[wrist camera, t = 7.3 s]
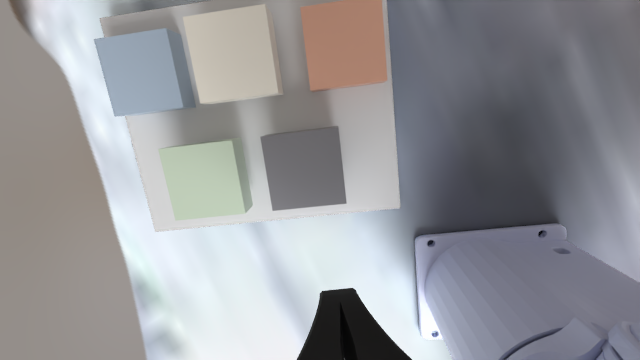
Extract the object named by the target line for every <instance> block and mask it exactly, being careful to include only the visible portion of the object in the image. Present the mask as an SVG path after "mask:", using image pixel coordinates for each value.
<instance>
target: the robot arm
mask: <svg viewBox="0 0 640 360" xmlns="http://www.w3.org/2000/svg"><path fill="white" fill-rule="evenodd" d="M542 230H543V232H542V234H541V235H538V233H539V232H540V231H542ZM566 234H567V231H566V228H565V227H564V226H562V225H560V224H557V223H554V224H543V225H531V226H520V227H509V228H498V229H486V230H475V231H464V232H453V233H441V234H430V235H421V236H418V237H417V238H416V239H415V259H416V277H417V294H418V312H419V329H420V334H421V337H422V338H423V339H425V340H435V339H444V342H445V344H446V346H447V348H448V350H449V353H450V355H451V357H452V359H453V360H640V283H639V282H637V281H635V280H634V279H632V278H630V277H628V276H627V275H625V274H623V273H621V272H620V271H618V270H616V269H615V268H613V267H611V266H609V265H608V264H606V263H604V262H602V261H601V260H599V259H597V258H595V257H594V256H592V255H590V254H589V253H587V252H585V251H583V250H582V249H580V248H578V247H576V246H575V245H573V244H571V243H569V242H568V241H566ZM429 240H433V243H432V244H431V245H428V244H427V242H428V241H429ZM433 331H437V332H436V333H432V332H433ZM297 360H412V359H411V358H410V357H409V356H408V355H407V354H406V353H404V352H403V351H402V350H401V349H400V348H399V347H398V346H397V345H396V344H395V342H394V341H393V340H392V339H391V338H390V337H389V336H388V335H387V334H386V333H385V331H384V330H383V329H382V328H381V327H380V325H379V324H378V323H377V322H376V320H375V319H374V318H373V317H372V315H371V314H370V313H369V311H368V310H367V308H366V307H365V305H364V304H363V302H362V301H361V299H360V298H359V296H358V294H357V292H356V290H355V289H353V288H348V289H339V290H329V291H322V292H321V293H320V299H319V305H318V309H317V312H316V315H315V318H314V321H313V324H312V327H311V330H310V332H309V334H308V337H307V339H306V341H305V344H304V346H303V348H302V350H301V352H300V354H299V356H298V358H297Z"/></svg>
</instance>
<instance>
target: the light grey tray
mask: <svg viewBox="0 0 640 360" xmlns="http://www.w3.org/2000/svg"><path fill="white" fill-rule="evenodd" d="M336 1H343V0H209V1H203V2H197V3H190V4H184V5H178V6H172V7H166V8H160V9H153V10H147V11H141V12H135V13H129V14H123V15H116V16H110V17H104V18H100V22H101V26H102V30H103V34H104V37H112V36H118V35H124V34H131V33H137V32H144V31H150V30H156V29H163V28H167V29H169V30H171V31H174V32H176V33H178V34H180V35H181V38H182V43H183V48H184V53H185V57H186V62H187V67H188V72H189V76H190V81H191V86H192V91H193V96H194V100H195V105H196V108H188V109H180V110H173V111H165V112H158V113H150V114H143V115H135V116H125V118H126V122H127V125H128V129H129V133H130V137H131V141H132V145H133V148H134V152H135V156H136V160H137V164H138V168H139V171H140V175H141V179H142V183H143V187H144V191H145V194H146V198H147V202H148V206H149V210H150V213H151V217H152V221H153V225H154V229H155V232H159V231H169V230H180V229H190V228H200V227H211V226H221V225H231V224H242V223H252V222H262V221H273V220H283V219H293V218H304V217H314V216H324V215H335V214H345V213H355V212H366V211H376V210H386V209H397V208H400V193H399V178H398V163H397V148H396V133H395V118H394V103H393V88H392V73H391V58H390V42H389V27H388V12H387V0H382V9H383V23H384V38H385V52H386V66H387V81H385V82H384V83H378V84H370V85H363V86H355V87H348V88H340V89H332V90H325V91H317V92H312V91H311V90H310V82H309V74H308V66H307V58H306V50H305V42H304V34H303V26H302V18H301V10H300V7H304V6H311V5H317V4H324V3H330V2H336ZM261 4H266V6H267V7H268V9H269V10H270V12H271V13H272V18H273V25H274V31H275V38H276V45H277V52H278V59H279V66H280V73H281V80H282V87H283V94H284V95H276V96H269V97H261V98H254V99H246V100H238V101H231V102H223V103H216V104H201V103H200V100H199V95H198V90H197V85H196V80H195V75H194V70H193V65H192V61H191V56H190V51H189V46H188V41H187V36H186V31H185V26H184V21H183V17H185V16H192V15H198V14H204V13H210V12H217V11H223V10H229V9H236V8H242V7H248V6H255V5H261ZM332 126H338V127H339V136H340V145H341V155H342V164H343V173H344V183H345V192H346V202H347V204H338V205H328V206H318V207H308V208H297V209H287V210H277V211H272V205H271V199H270V193H269V187H268V181H267V175H266V169H265V162H264V156H263V150H262V144H261V138H260V137H261V136H264V135H267V134H274V133H282V132H291V131H299V130H307V129H315V128H324V127H332ZM233 138H241V141H242V146H243V152H244V157H245V163H246V169H247V174H248V180H249V185H250V191H251V196H252V202H253V206H252V207H251V208H250V209H249V210H248V211H247V213H246V214H237V215H227V216H217V217H207V218H197V219H187V220H177V221H175V217H174V212H173V208H172V204H171V200H170V196H169V192H168V188H167V184H166V180H165V175H164V171H163V167H162V163H161V159H160V155H159V151H158V149H161V148H165V147H170V146H175V145H184V144H192V143H200V142H208V141H216V140H225V139H233Z"/></svg>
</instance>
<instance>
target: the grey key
mask: <svg viewBox="0 0 640 360" xmlns="http://www.w3.org/2000/svg"><path fill="white" fill-rule="evenodd" d="M260 138H261V144H262V150H263V156H264V162H265V169H266V175H267V181H268V187H269V193H270V199H271V205H272V211H277V210H287V209H297V208H308V207H318V206H328V205H338V204H347V202H346V192H345V183H344V173H343V164H342V155H341V145H340V136H339V127H338V126H332V127H324V128H315V129H307V130H299V131H291V132H282V133H274V134H267V135H264V136H261V137H260Z"/></svg>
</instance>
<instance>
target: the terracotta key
mask: <svg viewBox="0 0 640 360" xmlns="http://www.w3.org/2000/svg"><path fill="white" fill-rule="evenodd" d="M300 10H301V18H302V26H303V34H304V42H305V50H306V58H307V66H308V74H309V82H310V90H311V91H312V92H317V91H325V90H332V89H340V88H348V87H355V86H363V85H370V84H378V83H384V82H385V81H387V66H386V52H385V38H384V23H383V9H382V0H343V1H336V2H330V3H324V4H317V5H311V6H304V7H300Z"/></svg>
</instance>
